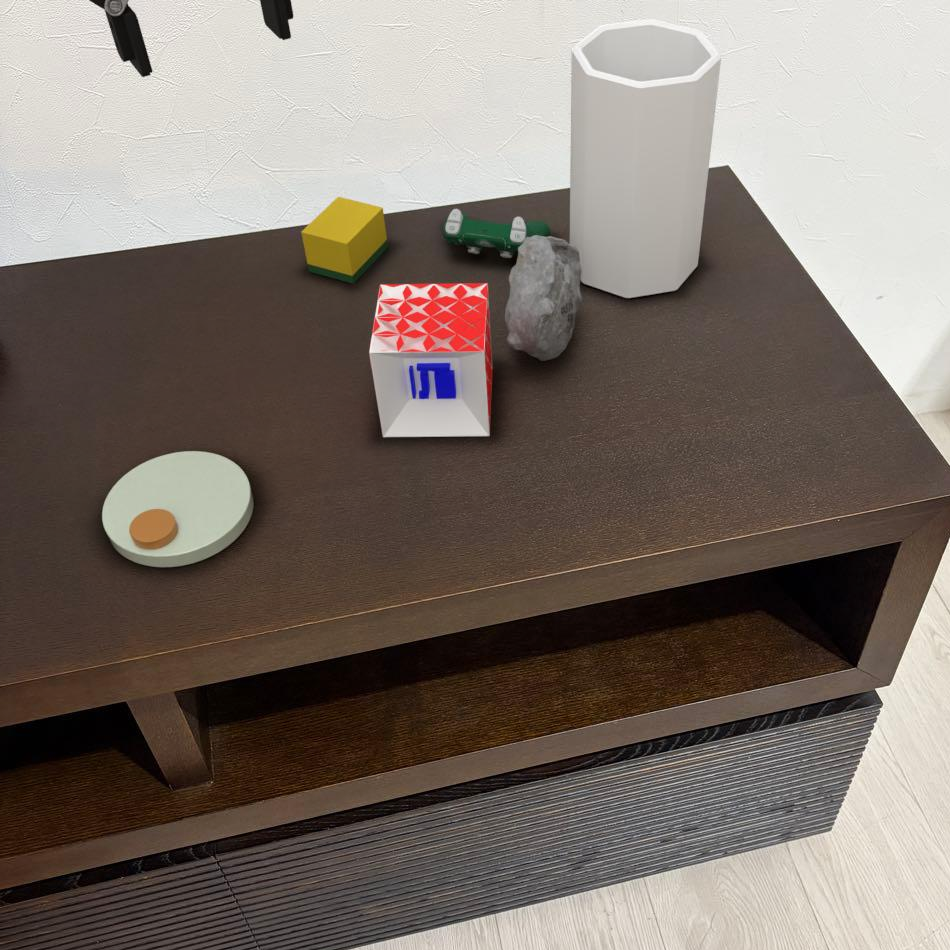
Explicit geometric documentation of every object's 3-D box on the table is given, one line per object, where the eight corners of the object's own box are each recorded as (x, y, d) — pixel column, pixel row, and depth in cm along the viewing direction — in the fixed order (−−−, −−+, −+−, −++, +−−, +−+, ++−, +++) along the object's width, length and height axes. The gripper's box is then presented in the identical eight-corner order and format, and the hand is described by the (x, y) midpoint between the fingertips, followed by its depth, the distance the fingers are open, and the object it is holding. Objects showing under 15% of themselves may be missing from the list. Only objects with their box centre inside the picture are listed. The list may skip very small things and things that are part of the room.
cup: (700, 230, 99) (724, 21, 85) (694, 305, 91) (718, 89, 77) (577, 222, 100) (580, 13, 86) (561, 294, 92) (562, 80, 79)
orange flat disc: (122, 541, 73) (119, 533, 72) (151, 511, 75) (147, 503, 74) (159, 555, 72) (156, 547, 71) (187, 524, 74) (184, 516, 73)
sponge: (353, 284, 94) (346, 243, 91) (308, 272, 95) (300, 231, 92) (388, 247, 97) (382, 207, 94) (344, 236, 99) (338, 196, 96)
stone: (598, 382, 85) (602, 273, 77) (511, 391, 84) (507, 282, 77) (579, 310, 91) (581, 202, 83) (497, 318, 90) (492, 210, 83)
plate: (76, 540, 74) (70, 528, 74) (166, 447, 81) (162, 435, 80) (197, 586, 72) (192, 574, 71) (281, 486, 78) (278, 474, 77)
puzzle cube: (492, 367, 86) (488, 283, 80) (489, 436, 81) (484, 351, 75) (391, 368, 86) (378, 284, 80) (381, 437, 81) (367, 352, 75)
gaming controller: (448, 255, 100) (429, 241, 94) (454, 212, 99) (436, 196, 93) (546, 268, 98) (534, 254, 92) (553, 225, 98) (541, 209, 92)
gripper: (258, -294, 66) (308, 0, 79) (-39, -249, 60) (67, 61, 73) (307, -268, 62) (352, 39, 74) (-7, -216, 56) (100, 106, 69)
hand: (211, 49), depth 74 cm, fingers open, 9 cm apart
